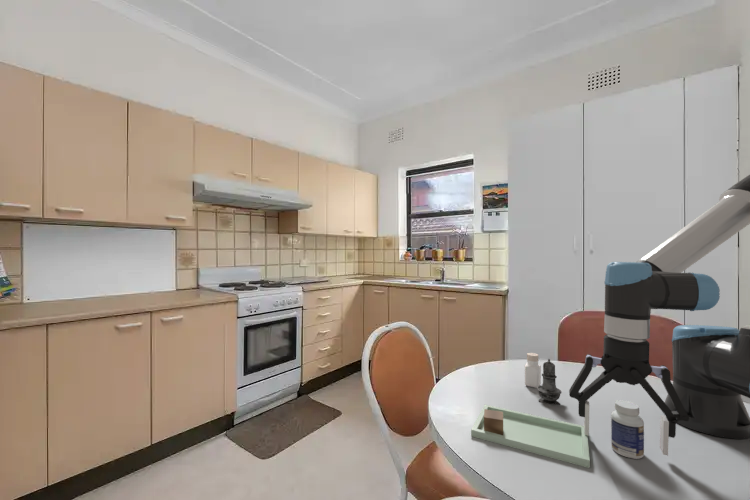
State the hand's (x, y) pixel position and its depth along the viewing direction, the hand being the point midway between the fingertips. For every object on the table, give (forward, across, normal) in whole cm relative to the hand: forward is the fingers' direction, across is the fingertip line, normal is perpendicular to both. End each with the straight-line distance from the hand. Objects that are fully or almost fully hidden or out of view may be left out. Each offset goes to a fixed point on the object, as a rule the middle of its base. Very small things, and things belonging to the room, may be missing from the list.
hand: (623, 441), depth 69 cm
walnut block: (+2, +24, +7) cm, 25 cm away
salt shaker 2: (+3, +14, -17) cm, 22 cm away
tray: (+2, +17, +4) cm, 18 cm away
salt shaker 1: (+3, +19, -28) cm, 34 cm away
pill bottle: (+2, -1, 0) cm, 2 cm away
